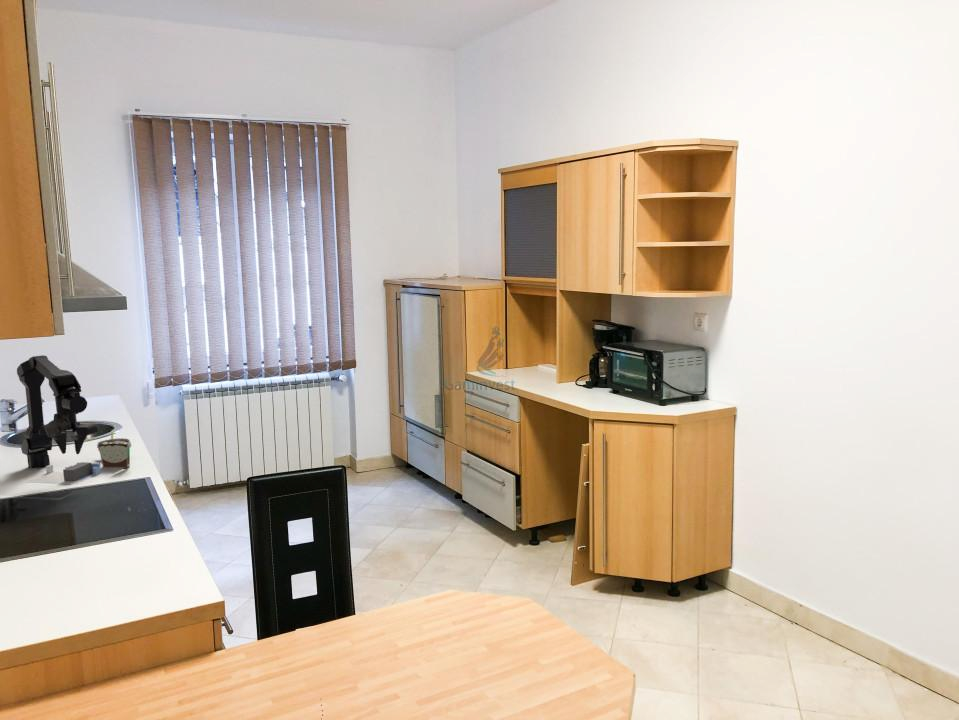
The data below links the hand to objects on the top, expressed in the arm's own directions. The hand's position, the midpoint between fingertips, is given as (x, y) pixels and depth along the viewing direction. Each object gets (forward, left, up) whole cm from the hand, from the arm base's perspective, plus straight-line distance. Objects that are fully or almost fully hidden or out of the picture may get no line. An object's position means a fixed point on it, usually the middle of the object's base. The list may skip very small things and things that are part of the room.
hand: (71, 453), depth 266 cm
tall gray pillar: (0, +2, -9) cm, 9 cm away
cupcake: (-6, +28, -10) cm, 30 cm away
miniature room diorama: (-6, +2, -10) cm, 12 cm away
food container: (+4, +19, -10) cm, 22 cm away
